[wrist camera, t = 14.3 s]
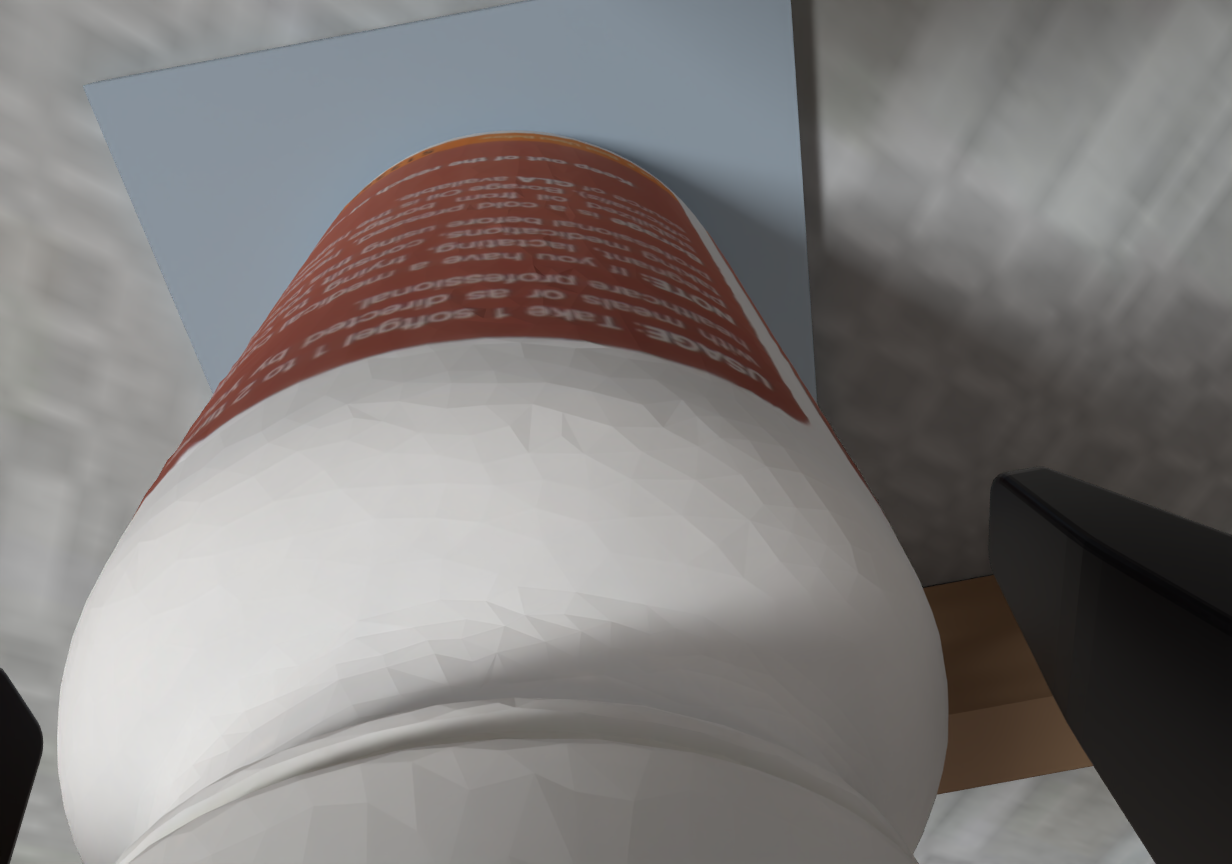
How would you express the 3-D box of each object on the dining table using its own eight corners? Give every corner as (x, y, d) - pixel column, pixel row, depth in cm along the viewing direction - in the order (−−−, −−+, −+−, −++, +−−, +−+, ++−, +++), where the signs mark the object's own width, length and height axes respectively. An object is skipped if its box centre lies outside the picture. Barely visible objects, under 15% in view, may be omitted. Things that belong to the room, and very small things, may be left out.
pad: (780, -48, 12) (787, -47, 11) (819, 522, 16) (825, 535, 16) (96, 81, 12) (82, 85, 11) (317, 615, 16) (313, 630, 16)
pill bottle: (221, 344, 13) (-676, 1484, 3) (510, 14, 11) (382, 404, 2) (536, 576, 16) (540, 1637, 6) (813, 332, 14) (1486, 1257, 4)
